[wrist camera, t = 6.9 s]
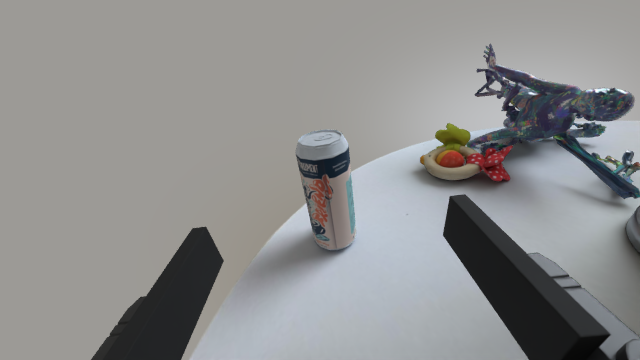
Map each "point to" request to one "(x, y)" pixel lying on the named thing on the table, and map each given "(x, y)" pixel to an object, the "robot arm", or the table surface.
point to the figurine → (558, 118)
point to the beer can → (327, 187)
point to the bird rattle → (463, 157)
